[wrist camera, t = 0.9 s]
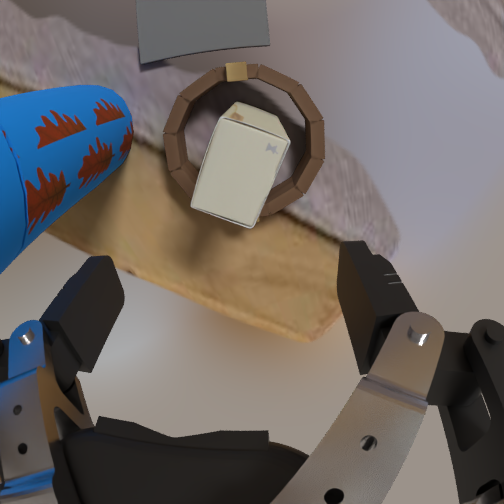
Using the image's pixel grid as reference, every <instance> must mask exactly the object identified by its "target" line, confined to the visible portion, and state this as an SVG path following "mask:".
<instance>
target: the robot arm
mask: <svg viewBox="0 0 504 504" xmlns="http://www.w3.org/2000/svg"><path fill="white" fill-rule="evenodd" d="M337 294H338V299H339V302H340V306H341V309H342V312H343V316H344V318H345V322H346V325H347V329H348V333H349V336H350V339H351V343H352V347H353V350H354V354H355V358H356V361H357V365H358V369H359V372H360V375H363V374H367V376H366V377H363V378H362V379H361V380H360V382H359V383H358V385H357V387H356V388H355V390H354V392H353V393H352V395H351V396H350V398H349V400H348V401H347V403H346V404H345V406H344V408H343V409H342V411H341V412H340V414H339V415H338V417H337V418H336V420H335V421H334V423H333V424H332V426H331V427H330V429H329V430H328V432H327V433H326V434H325V436H324V437H323V439H322V440H321V441H320V443H319V444H318V446H317V447H316V448H315V450H314V451H313V452H312V454H311V455H310V456H309V455H307V454H305V453H304V452H301V451H299V450H297V449H295V448H292V447H289V446H286V445H283V444H280V443H275V442H270V441H269V433H268V431H216V432H210V433H204V434H198V435H192V436H185V437H178V438H174V437H169V436H166V435H164V434H161V433H159V432H156V431H153V430H151V429H148V428H146V427H144V426H141V425H139V424H137V423H134V422H129V421H123V420H117V419H112V418H107V417H101V416H99V417H98V420H97V423H96V426H94V424H93V422H92V420H91V417H90V414H89V411H88V408H87V404H86V401H85V398H84V394H83V391H82V388H81V384H80V381H79V379H78V378H77V376H76V374H77V372H78V371H82V372H88V373H91V372H92V370H93V368H94V366H95V363H96V361H97V359H98V357H99V355H100V353H101V350H102V348H103V346H104V344H105V342H106V340H107V338H108V336H109V334H110V332H111V329H112V327H113V325H114V323H115V321H116V319H117V317H118V315H119V313H120V311H121V309H122V307H123V305H124V290H123V288H122V285H121V282H120V280H119V277H118V274H117V271H116V269H115V266H114V263H113V261H112V259H111V257H110V256H107V255H106V256H91V257H89V258H88V259H87V260H86V262H85V263H84V264H83V265H82V267H81V268H80V269H79V270H78V272H77V273H76V274H74V275H73V276H72V277H71V278H70V279H69V280H68V281H67V282H66V284H65V285H64V286H63V289H61V290H60V292H59V293H58V294H57V296H56V297H55V298H54V300H53V301H52V302H51V304H50V305H49V307H48V308H47V309H46V311H45V312H44V314H43V315H42V317H41V318H40V319H39V321H37V320H30V321H27V322H24V323H22V324H21V325H20V326H18V328H16V329H15V331H14V332H13V333H12V335H11V337H10V339H5V340H1V339H0V504H381V503H382V501H383V500H384V498H385V497H386V495H387V493H388V491H389V490H390V488H391V486H392V484H393V482H394V481H395V479H396V477H397V475H398V473H399V471H400V469H401V467H402V465H403V463H404V461H405V459H406V457H407V455H408V453H409V451H410V448H411V446H412V444H413V442H414V439H415V437H416V434H417V432H418V430H419V428H420V425H421V423H422V420H423V418H424V415H425V412H426V409H427V406H428V405H437V406H438V409H439V412H440V416H441V419H442V423H443V427H444V431H445V435H446V438H447V442H448V447H449V451H450V455H451V460H452V464H453V469H454V474H455V479H456V485H457V491H458V497H459V503H460V504H504V326H503V325H501V324H500V323H498V322H496V321H494V320H490V319H482V320H479V321H477V322H476V323H475V324H474V325H473V327H472V329H471V331H470V333H469V334H468V333H458V332H448V331H444V330H443V327H442V326H441V324H440V323H439V322H438V321H437V320H436V319H435V318H434V317H432V316H430V315H428V314H426V313H422V312H419V311H418V309H417V307H416V305H415V303H414V302H413V300H412V298H411V296H410V295H409V293H408V291H407V289H406V288H405V286H404V284H403V283H402V282H401V279H400V277H399V276H398V275H397V273H396V271H395V269H394V268H393V266H392V264H391V263H390V262H389V261H388V260H386V259H385V258H384V257H382V256H381V255H380V254H378V255H372V253H371V251H370V250H369V248H368V246H367V245H366V243H365V241H363V240H362V241H344V242H341V244H340V251H339V264H338V275H337ZM481 393H482V394H483V397H484V399H485V402H486V404H487V407H488V410H489V413H490V417H491V420H490V417H489V414H488V411H487V408H486V405H485V403H484V400H483V398H482V395H481ZM4 480H5V481H4Z"/></svg>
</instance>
